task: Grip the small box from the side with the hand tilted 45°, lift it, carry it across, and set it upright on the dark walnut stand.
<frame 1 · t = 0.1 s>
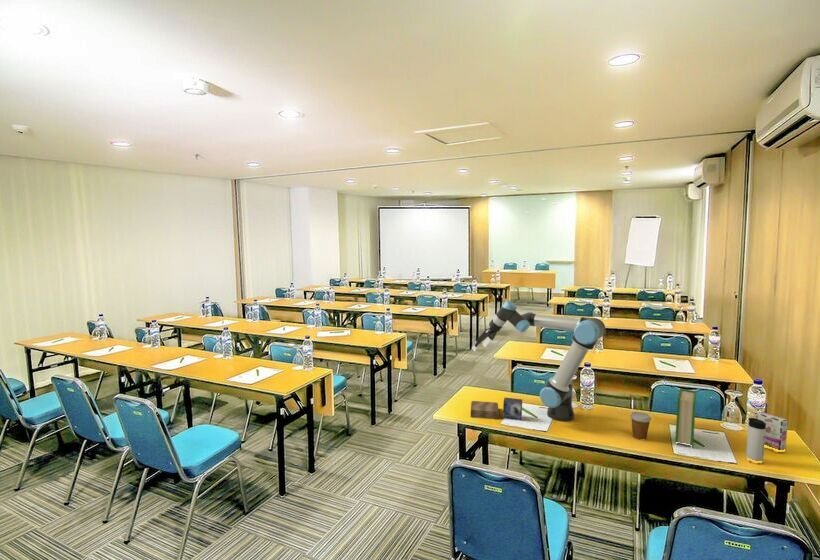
hand: (478, 347, 266), 36 cm above the table, tool tilted 35°, fingers open, 13 cm apart
walnut stand: (484, 412, 254), on the table
disposable coffee cup: (639, 437, 223), on the table
hardback book: (684, 440, 221), on the table
small box: (512, 417, 248), on the table
travel mug: (753, 461, 199), on the table
candy bar box: (769, 448, 212), on the table
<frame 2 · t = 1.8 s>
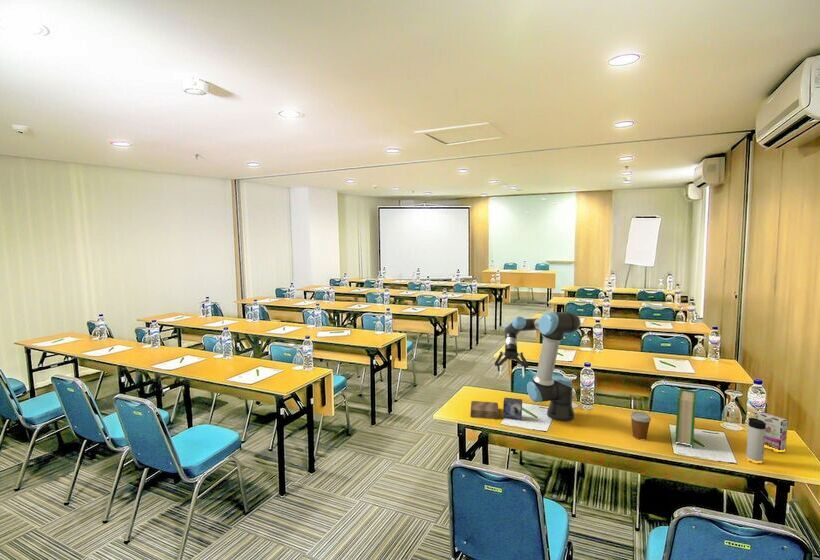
hand: (511, 376, 257), 21 cm above the table, tool tilted 45°, fingers open, 13 cm apart
nothing on the table moved.
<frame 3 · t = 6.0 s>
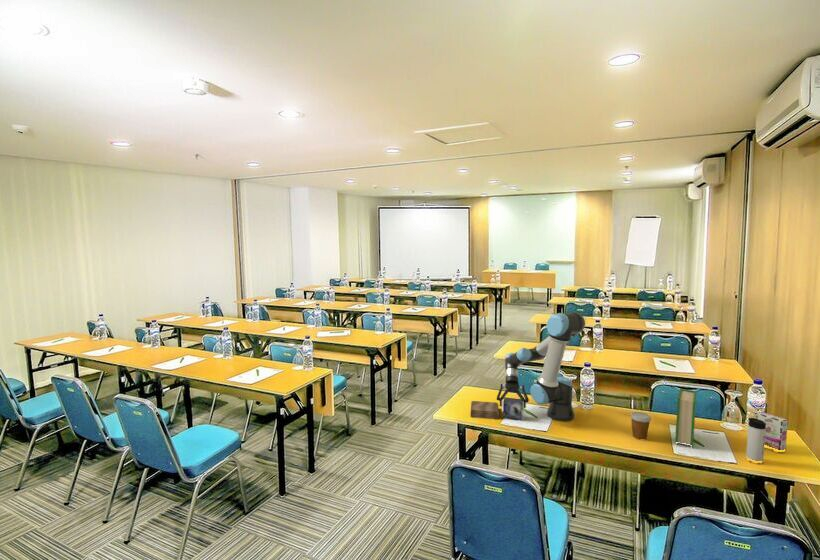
hand: (512, 412, 245), 4 cm above the table, tool tilted 45°, fingers closed on small box, 11 cm apart
small box: (512, 417, 248), on the table, touching gripper
everything else where it was.
when the fingers open (10 cm above the table, at t = 12.4 s): small box drops 1 cm, resting on walnut stand.
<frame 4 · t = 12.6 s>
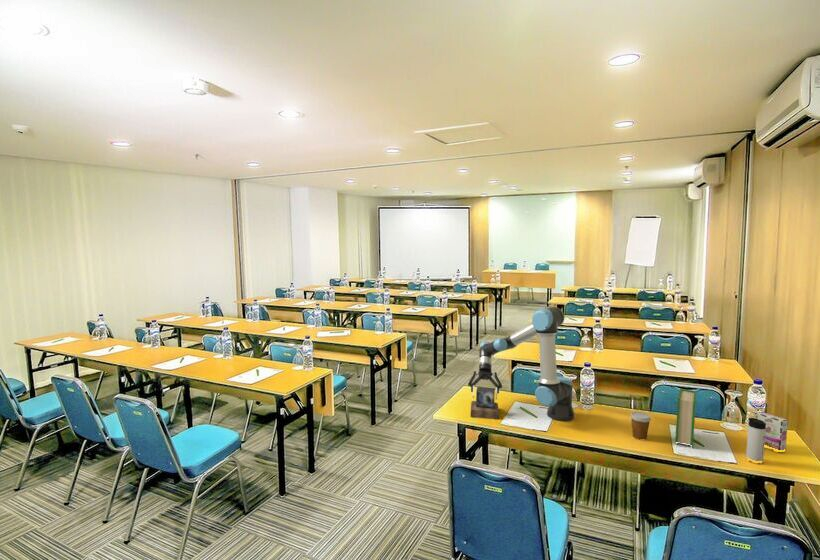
hand: (484, 397, 251), 10 cm above the table, tool tilted 45°, fingers open, 13 cm apart
small box: (485, 406, 254), point 4 cm above the table, touching walnut stand
everything else where it was.
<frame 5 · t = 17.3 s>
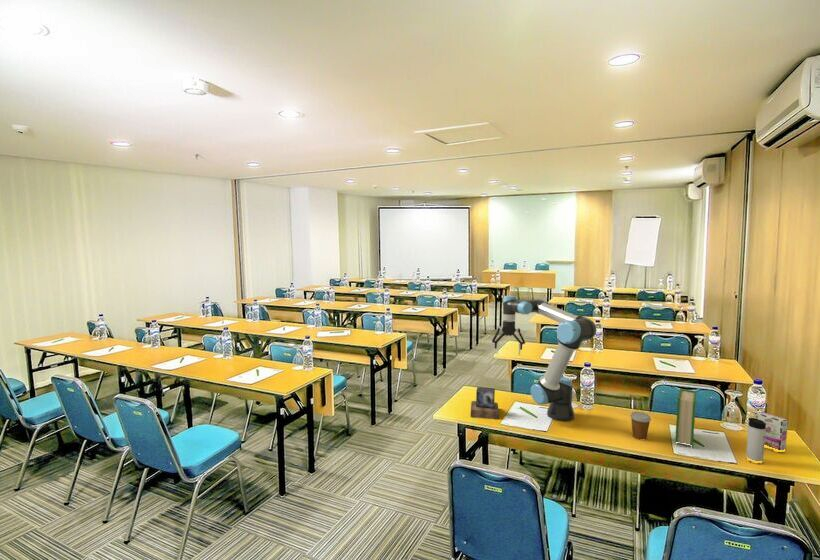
hand: (508, 354, 267), 32 cm above the table, tool pointing down, fingers open, 13 cm apart
nothing on the table moved.
at the end: small box inside the target area on the walnut stand (0.4 cm from its centre), point 3.8 cm above the walnut stand's base; small box tilted 0°; small box touching walnut stand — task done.
